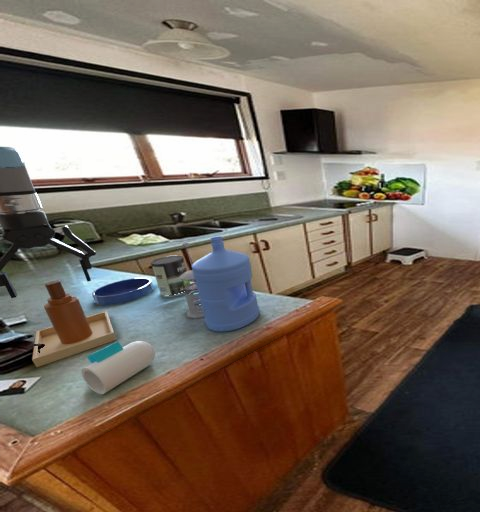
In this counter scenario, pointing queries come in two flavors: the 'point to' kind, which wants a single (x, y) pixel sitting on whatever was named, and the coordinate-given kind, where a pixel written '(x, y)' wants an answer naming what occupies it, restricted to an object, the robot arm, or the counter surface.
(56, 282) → the bottle
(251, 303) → the water jug
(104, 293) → the bowl
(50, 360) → the tray
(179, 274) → the coffee can
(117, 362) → the mug
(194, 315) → the french press
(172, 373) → the counter surface
